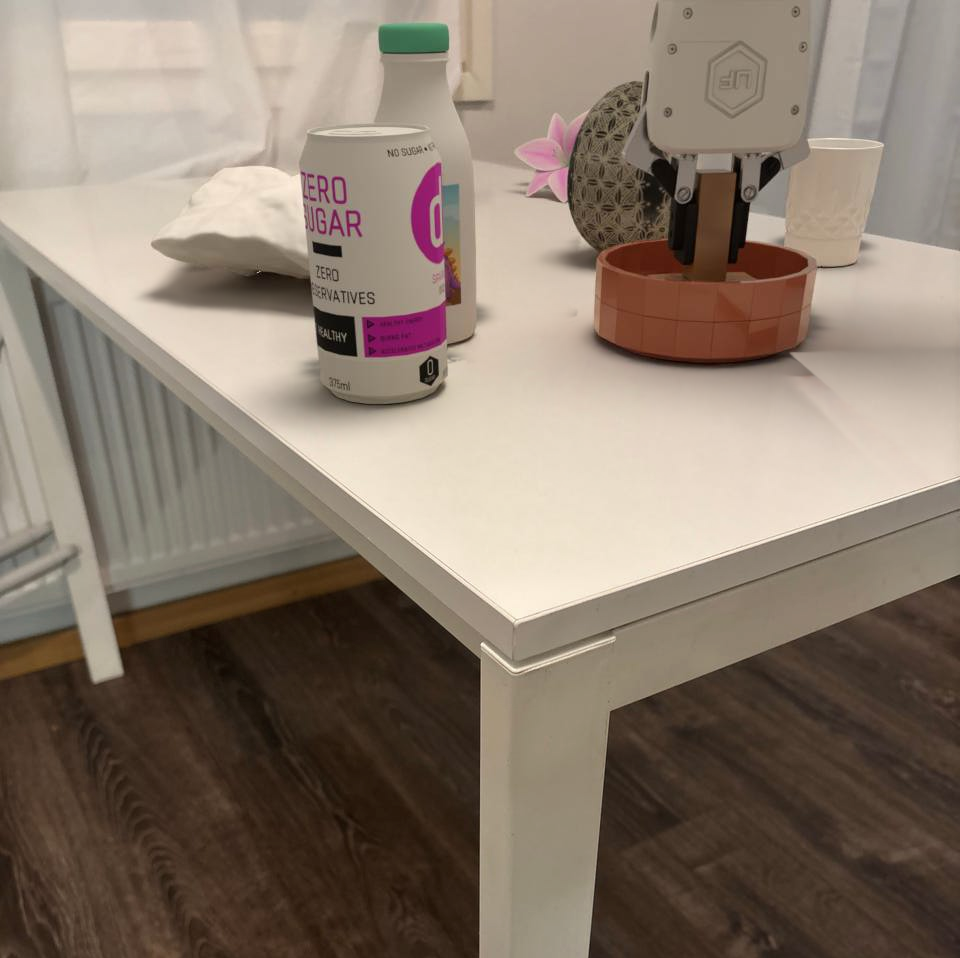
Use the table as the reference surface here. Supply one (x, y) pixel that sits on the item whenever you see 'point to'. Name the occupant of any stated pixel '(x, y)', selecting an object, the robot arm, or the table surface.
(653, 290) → the bowl
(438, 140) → the milk bottle
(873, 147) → the white cup
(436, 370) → the supplement can
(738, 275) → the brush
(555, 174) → the lily
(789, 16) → the robot arm
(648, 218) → the decorative egg
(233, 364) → the table surface
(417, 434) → the table surface
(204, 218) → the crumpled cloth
